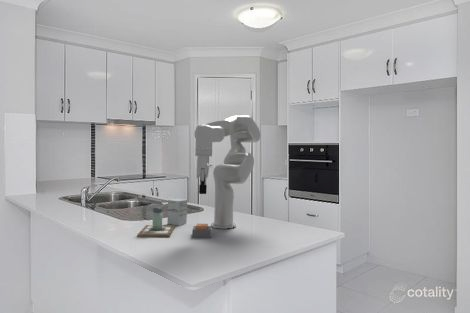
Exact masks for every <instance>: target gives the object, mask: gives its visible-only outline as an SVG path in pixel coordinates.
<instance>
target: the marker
mask: <svg viewBox="0 0 470 313" xmlns="http://www.w3.org/2000/svg"><path fill="white" fill-rule="evenodd" d="M152 225H153V226H152V229H153V230H162V225H163V206H154V207H152Z"/></svg>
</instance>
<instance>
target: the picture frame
mask: <svg viewBox="0 0 470 313" xmlns="http://www.w3.org/2000/svg"><path fill="white" fill-rule="evenodd" d="M152 226H153V224H145V226H144V227H143V228H142V229H141V230H140V231H139V232H138V233H137V235H136V238H170V237H171V235H172V234H173V232H174V230H175V228H176V225H172V224H165V225H163V224H162V230H153V229H152Z"/></svg>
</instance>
